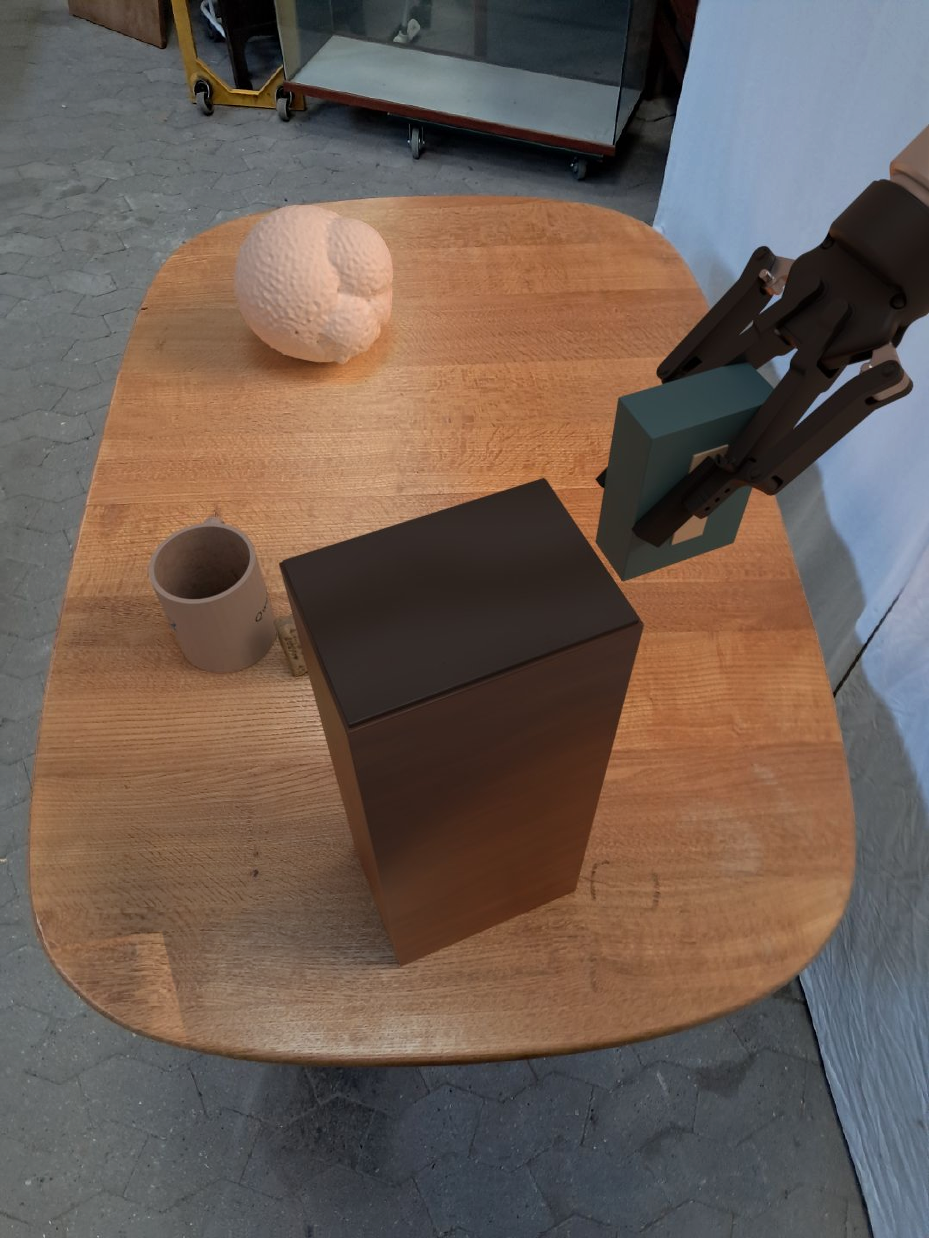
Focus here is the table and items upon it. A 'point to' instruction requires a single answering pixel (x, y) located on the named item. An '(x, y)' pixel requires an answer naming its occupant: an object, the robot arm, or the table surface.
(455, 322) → the table surface
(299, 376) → the table surface
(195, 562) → the mug
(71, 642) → the table surface
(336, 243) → the decorative orb
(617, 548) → the teal box
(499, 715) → the pedestal
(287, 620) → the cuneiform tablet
